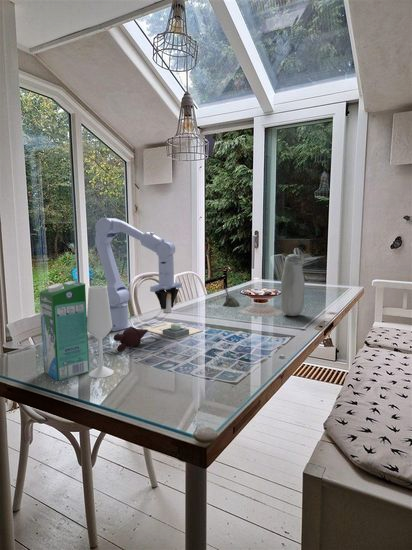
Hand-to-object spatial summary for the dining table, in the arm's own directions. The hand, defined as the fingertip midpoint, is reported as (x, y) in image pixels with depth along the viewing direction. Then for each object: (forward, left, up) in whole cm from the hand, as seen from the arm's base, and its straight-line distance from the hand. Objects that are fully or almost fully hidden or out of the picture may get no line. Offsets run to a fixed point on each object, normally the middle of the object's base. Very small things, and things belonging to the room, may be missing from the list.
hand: (167, 308), depth 146 cm
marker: (0, 0, -2) cm, 2 cm away
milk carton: (-48, -11, -9) cm, 50 cm away
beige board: (+1, -1, -9) cm, 9 cm away
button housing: (-2, -7, -9) cm, 12 cm away
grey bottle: (+54, -23, -9) cm, 60 cm away
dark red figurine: (-21, -6, -9) cm, 24 cm away
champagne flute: (-42, -19, -9) cm, 47 cm away
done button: (-2, -7, -8) cm, 11 cm away
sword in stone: (+55, +13, -10) cm, 58 cm away
